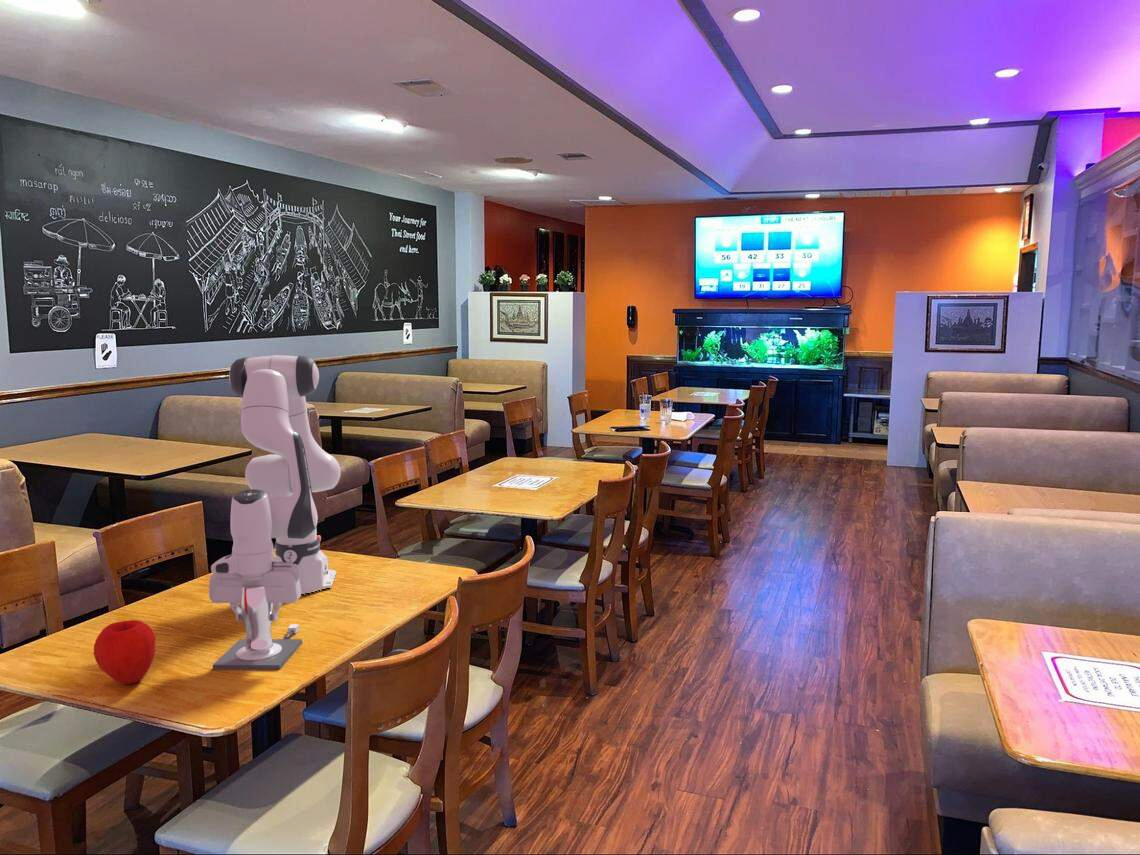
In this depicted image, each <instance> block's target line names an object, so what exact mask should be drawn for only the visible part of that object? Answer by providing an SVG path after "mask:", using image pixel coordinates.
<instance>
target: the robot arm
mask: <svg viewBox="0 0 1140 855" xmlns="http://www.w3.org/2000/svg"><path fill="white" fill-rule="evenodd" d="M228 380H229V385H230V387H231V390H232V392H233V393H234V394H235V395H237V397H239V398H242V399H241V408H240V428H241V433H242V435H243V437H244V438H245V439H246V441H247V442H249V444H251V445H253V447H256V448H258V449H260V450H262V451H265V452H269V453H271V454H266V455H260V456H255V457H253V458H251V460H250V461H249V462H248V463H247V464H246V468H245V471H244V472H245V473H244V478H245V481H246V484H247V486H248V487H249V488H250V489H245V490H242V491H238V492H237V493H235V494H234V495H233V496H232V498H231V504H230V516H229V517H230V519H229V520H230V535H231V537H232V542H233V544H232V548H231V550H232V551H231V553H230V554H228V555H226V556H223V557H221V558H220V559H218V560H216V561H215V562H214V563H213V564H211V566H210V570H211V573H212V574H211V575H210V578H209V580H208V581H209V582H208V583H209V584H208V597H209V600H210V601H211V602H212V603H214V604H220V603H221V604H229V608H230V609H231V610H232V612H233V614H235V621H236V622H244V620H243V616H242V612H241V607H240V606H239V605H240V594H241V587H240V586H242V587H246V588H254V587H261V586H265V587H264V589H265V594H266V601H267V603H273V609H274V610H273V611H272V613H271V614H270V618H269V621H271V622H276V621H278V619H279V614H278V613H279V611H280V609H281V607H282V605H283V604H294V603H296V602H297V601H298V600H299V599H301V596H302V595H301V594H304V593H309V592H313V591H316V590H319V589H322V588H327V587H331V586H332V584H333V581H334V582H335V580H334V578H335V579H336V577H335V575H336V576H337V574H336V573H337V571H336V570H335V569H331V568H329V560H328V558H329V557H328V556H327V555H326V554H325V553H324V552H323V551H322V550H321V545H320V543H321V540H322V536H321V535H320V534H319V535H317V534H318V532H317V525H318V520H319V518H318V511H317V507H316V503H315V501H314V497H313V493H319V492H325V491H329V490H332V489H334V488H335V487H336V486H337V485H338V483H339V481H340V479H341V473H342V472H341V466H340V464H339V462H338V460H337V459H336V458H335V456H334V455H332V454H329V453H328V452H326V451H325V450H324V449H322V447H321V446H320V445H319V444H318V443H317V441H316V440H315V438H314V436H313V434H312V430H311V427H310V421H309V416H308V406H307V399H306V396H309V395H310V396H311V395H312V394H313V393H314V392H315V391H316V390H317V389H318V388H317V387H318V384H319V380H320V372H319V368H318V366H317V363H316V361H315V360H314V359H313V358H312V357H309V356H306V355H305V356H304V355H297V356H296V355H286V354H285V355H283V354H282V355H281V354H273V355H263V356H254V357H248V356H247V357H241V358H238V359H235V360H234V361H233V363H231V365H230V369H229V376H228ZM272 539H275V540H276V541H275V542H274V543H273V540H272ZM333 585H334V584H333ZM304 595H305V594H304Z"/></svg>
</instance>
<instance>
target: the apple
mask: <svg viewBox="0 0 1140 855" xmlns="http://www.w3.org/2000/svg"><path fill="white" fill-rule="evenodd" d="M156 643H157V642H156V635H155V633H154V631H153V628H152V627H150V626H149V624H147V623H145V622H144V621H141V620H137V619H132V620H131V619H130V620H122V621H121V620H120V621H116V622H113V623H109V624H108V625H107V626H105V627H104V628H102V629H101V631H100V632H99V634H98V636H97V637H96V639H95V642H94V645H93V656H94V659H95V663H96V664H97V666H99V669H100V670H101V671H103V672H104V673H105V674H106V675H107V676H108V677H109V678H111V679H112V680H113V681H114V682H115V683H119V684H121V685H131V684H134V683H139V682H140V681H141V680H143V679H144V678H145V676H146V674H147V673H148V671H149V669H150V667H151V666H152V663H153V661H154V657H155V655H156Z"/></svg>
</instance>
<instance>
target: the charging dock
mask: <svg viewBox="0 0 1140 855" xmlns="http://www.w3.org/2000/svg"><path fill="white" fill-rule="evenodd" d="M297 632H300V623H294V624H293V623H291V624H290V625H289V626H288V627H287V634H286V635H285V636H284V637H283V638H282V639H280V638H279V639H278V638H272V640H273V646H272V647H271V648H270V649H267V650H264V651H258V652H251V651H247V650H246V649H245V645H246V638H240V639H238V640H237V642H235V643H234V644H233V645H232V646H231V647H230V648H229V649H228V650H226V652H225V653H224V654H222V655H221V656H220V658H219V659H217V660H216V661H215V662H214V663H213V664H212V670H281V669H282V668H283V666H285V664H286V663H287V662H288V660H289V659H290V658H291V657H292V656H293V655H294V653H295V652H296V651H297V650H299V648H300V647H301V646H302V644H303V639H302V638H301V639H300V638H299V639H298V638H295V639H294V638H291V637H292V636H293V635H297V634H298V633H297ZM293 633H295V634H293ZM296 633H297V634H296ZM299 646H300V647H299Z"/></svg>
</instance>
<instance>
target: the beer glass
mask: <svg viewBox="0 0 1140 855" xmlns="http://www.w3.org/2000/svg"><path fill="white" fill-rule="evenodd" d="M240 587H241V594H240V604H239V605H240V609H241V612H242V616H243V620H244V621H243V624H244V629H245V633H246V634H245V635H246V638H245V639H246V645H245V649H246V650H247V651H251V652H258V651H264V650H267V649H270V648H271V647H272V646H273V640H272V639H273V637H272V632H271V631H272V629H271V627H272V626H271V625H272V621H269V618H270V614H271V613H272V612H273V611H274V610H273V609H274V607H273V603H267V601H266V594H265V589H264V587H265V586H261V587H254V588H246V587H242V586H240Z"/></svg>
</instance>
